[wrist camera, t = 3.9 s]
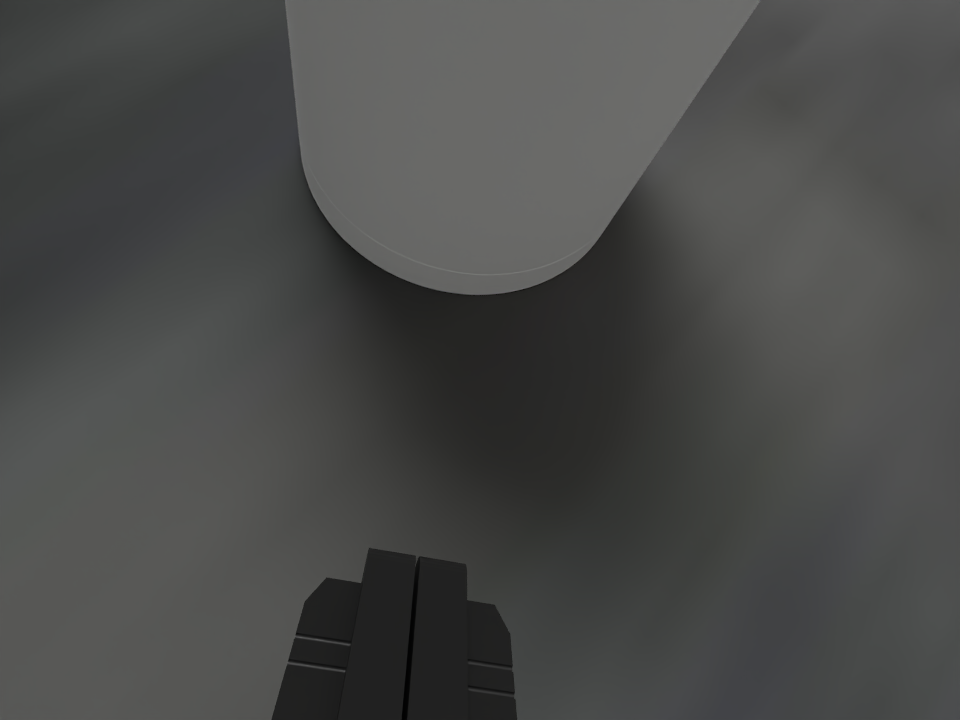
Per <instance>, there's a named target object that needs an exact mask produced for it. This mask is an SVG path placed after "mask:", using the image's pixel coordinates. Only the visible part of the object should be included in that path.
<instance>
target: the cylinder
mask: <svg viewBox="0 0 960 720" xmlns="http://www.w3.org/2000/svg"><path fill="white" fill-rule="evenodd" d="M760 1H761V0H285V4H286V14H287V24H288V34H289V43H290V53H291V63H292V73H293V83H294V93H295V102H296V112H297V122H298V132H299V142H300V151H301V159H302V165H303V169H304V173H305V177H306V180H307V183H308V186H309V188H310V190H311V193H312V195H313V197H314V199H315V201H316V203H317V205H318V207H319V208H320V210H321V211H322V213H323V215H324V216H325V218H326V219H327V220H328V222H329V223H330V224H331V226H332V227H333V228H334V229H335V230H336V231H337V233H338V234H339V235H340V236H341V237H342V238H343V239H344V240H345V241H346V242H347V243H348V244H349V245H350V246H351V247H352V248H354V249H355V250H356V251H357V252H358V253H360V254H361V255H362V256H363V257H365V258H366V259H368V260H369V261H371V262H372V263H374V264H375V265H377V266H378V267H380V268H382V269H384V270H385V271H387V272H389V273H391V274H393V275H395V276H397V277H399V278H402V279H404V280H406V281H409V282H411V283H414V284H417V285H420V286H423V287H427V288H430V289H434V290H438V291H444V292H449V293H457V294H468V295H491V294H500V293H507V292H513V291H518V290H522V289H525V288H529V287H532V286H535V285H537V284H540V283H543V282H545V281H547V280H549V279H552V278H553V277H555V276H557V275H559V274H561V273H562V272H564V271H565V270H567V269H568V268H570V267H571V266H573V265H574V264H575V263H576V262H577V261H579V260H580V259H581V258H582V257H583V256H584V255H585V254H586V253H587V252H588V251H589V250H590V249H591V248H592V247H593V245H594V244H595V243H596V242H597V240H598V239H599V237H600V236H601V235H602V233H603V232H604V230H605V229H606V227H607V226H608V224H609V223H610V221H611V220H612V218H613V217H614V215H615V214H616V212H617V211H618V210H619V208H620V207H621V205H622V204H623V202H624V201H625V199H626V198H627V196H628V195H629V193H630V192H631V190H632V189H633V187H634V186H635V185H636V183H637V182H638V180H639V179H640V177H641V176H642V174H643V173H644V171H645V170H646V168H647V167H648V165H649V164H650V162H651V161H652V160H653V158H654V157H655V155H656V154H657V152H658V151H659V149H660V148H661V146H662V145H663V143H664V142H665V140H666V139H667V137H668V136H669V135H670V133H671V132H672V130H673V129H674V127H675V126H676V124H677V123H678V121H679V120H680V118H681V117H682V115H683V114H684V112H685V111H686V110H687V108H688V107H689V105H690V104H691V102H692V101H693V99H694V98H695V96H696V95H697V93H698V92H699V90H700V89H701V87H702V86H703V84H704V83H705V82H706V80H707V79H708V77H709V76H710V74H711V73H712V71H713V70H714V68H715V67H716V65H717V64H718V62H719V61H720V59H721V58H722V57H723V55H724V54H725V52H726V51H727V49H728V48H729V46H730V45H731V43H732V42H733V40H734V39H735V37H736V36H737V34H738V33H739V32H740V30H741V29H742V27H743V26H744V24H745V23H746V21H747V20H748V18H749V17H750V15H751V14H752V12H753V11H754V9H755V8H756V7H757V5H758V4H759V2H760Z"/></svg>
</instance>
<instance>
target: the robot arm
mask: <svg viewBox="0 0 960 720" xmlns="http://www.w3.org/2000/svg"><path fill="white" fill-rule="evenodd" d="M415 564H416V567H415ZM512 666H513V664H512V652H511V639H510V633H509V631H508V629H507V627H506V625H505V624H504V622H503V620H502V618H501V616H500V614H499V612H498V610H497V609H496V607H495V605H492V604H486V603H480V602H474V601H468V600H467V568H466V565H465V564H462V563H456V562H450V561H444V560H438V559H433V558H427V557H421V556H419V558H418V560H417V563H416V556H414V555H408V554H402V553H396V552H390V551H384V550H378V549H372V548H369V550H368V554H367V559H366V564H365V568H364V573H363V578H362V582H361V583H356V582H350V581H344V580H338V579H332V578H326V579H325V580H324V581H323V582H322V583H321V584H320V585H319V587H318V588H317V589H316V590H315V591H314V592H313V593H312V594H311V595H310V597H309V598H308V599H307V600H306V601H305V603H304V607H303V610H302V614H301V617H300V621H299V624H298V628H297V631H296V636H295V639H294V642H293V645H292V649H291V653H290V656H289V660H288V664H287V667H286V670H285V674H284V677H283V681H282V684H281V688H280V691H279V695H278V699H277V702H276V706H275V709H274V713H273V716H272V720H517V714H516V701H515V699H514V693H515V689H514V676H513V672H512Z"/></svg>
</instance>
